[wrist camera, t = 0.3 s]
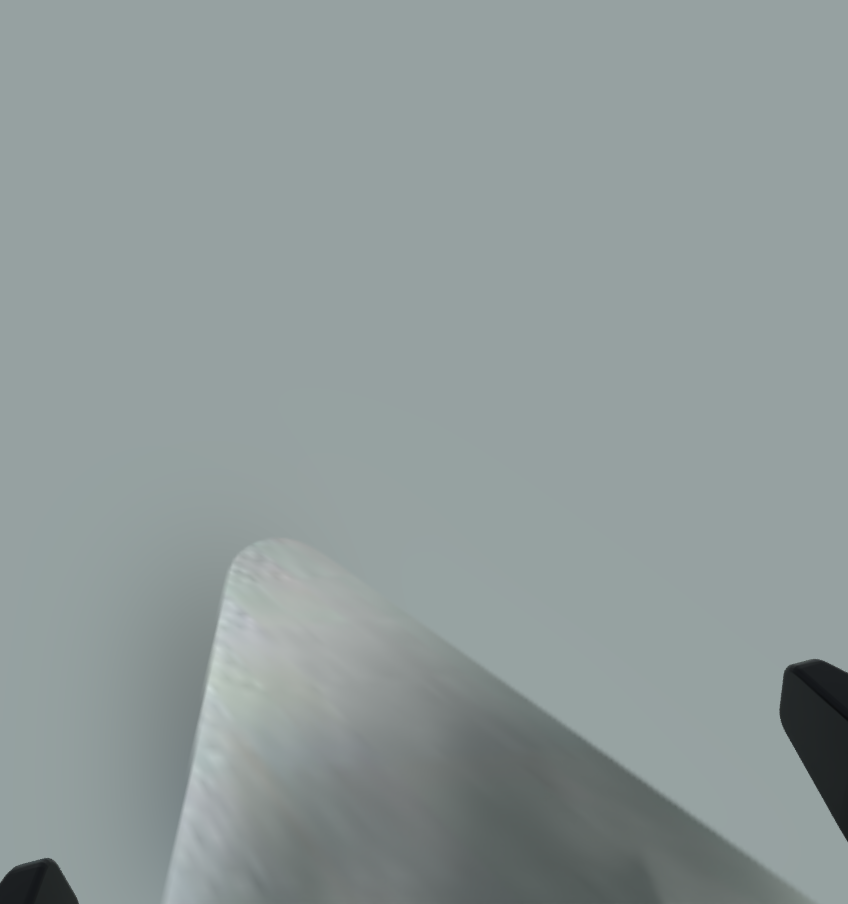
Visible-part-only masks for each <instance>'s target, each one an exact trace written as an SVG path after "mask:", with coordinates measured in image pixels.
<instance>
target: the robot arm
mask: <svg viewBox="0 0 848 904" xmlns="http://www.w3.org/2000/svg"><path fill="white" fill-rule="evenodd" d="M780 719H781V723H782V725H783V728H784V730H785V732H786V734H787V736H788V737H789V739H790V741H791V743H792V745H793V746H794V748H795V750H796V752H797V753H798V755H799V757H800V759H801V760H802V762H803V764H804V766H805V768H806V769H807V771H808V773H809V775H810V777H811V778H812V780H813V782H814V784H815V785H816V787H817V789H818V791H819V792H820V794H821V796H822V798H823V799H824V802H825V803H826V805H827V807H828V809H829V810H830V812H831V814H832V816H833V817H834V819H835V821H836V823H837V825H838V826H839V828H840V830H841V831H842V833H843V835H844V836H845V838H846V840H847V841H848V673H847V672H845V671H843V670H841V669H839V668H837V667H835V666H833V665H831V664H829V663H827V662H825V661H822V660H819V659H811V660H807V661H804V662H800V663H796V664H792V665H789V666H788V667H787V668H786V670H785V671H784V676H783V685H782V693H781V701H780ZM0 904H79V903H78V900H77V897H76V895H75V894H74V892H73V890H72V889H71V887H70V885H69V883H68V882H67V880H66V878H65V876H64V875H63V873H62V871H61V870H60V868H59V866H58V864H57V863H56V862H55V861H54V860H52V859H50V858H44V859H40V860H36V861H32V862H28V863H25V864H21V865H18V866H16V867H14V868H13V869H12V870H11V871H9V872H8V874H7V875H6V876H5V877H4V879H3V880H2V881H1V883H0Z"/></svg>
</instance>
